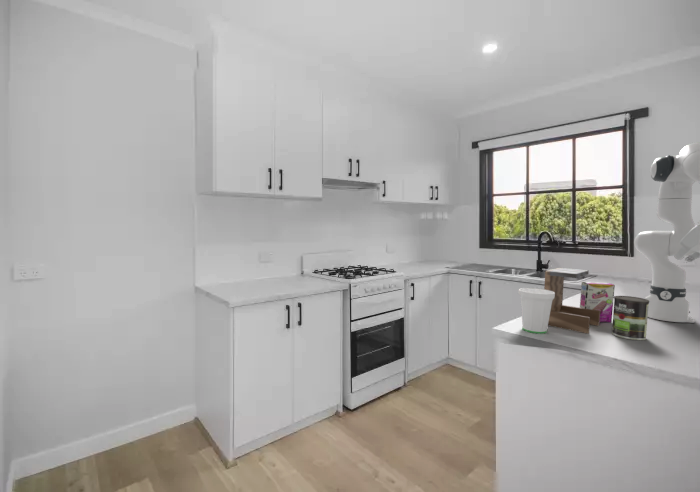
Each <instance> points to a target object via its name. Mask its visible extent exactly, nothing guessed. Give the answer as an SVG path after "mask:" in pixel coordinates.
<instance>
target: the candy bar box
mask: <svg viewBox="0 0 700 492" xmlns="http://www.w3.org/2000/svg"><path fill="white" fill-rule="evenodd" d="M580 286H581V288H580V299H579V300H580V301H579V308H585V309H592V310H598V311H600V321H599V323H613V311H614V296H615V284H613V283H609V282H599V281H598V282H597V281H596V282H595V281H581V285H580Z"/></svg>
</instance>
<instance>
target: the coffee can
mask: <svg viewBox="0 0 700 492" xmlns="http://www.w3.org/2000/svg"><path fill="white" fill-rule="evenodd" d="M648 306H649V300H647V299H645V298H642V297H637V296H630V295H629V296H628V295H614V300H613V311H612V326H611V327H612V328H611V334H612V335H613V336H615V337H618V338H622V339H626V340H632V341H645V340H646V339H647V331H648V330H647V329H648V318H649V317H648Z"/></svg>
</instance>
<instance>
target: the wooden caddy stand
mask: <svg viewBox="0 0 700 492" xmlns="http://www.w3.org/2000/svg"><path fill="white" fill-rule="evenodd" d="M589 273H590V272H589V270H586V269H576V268H565V267H557V268H553V269H548V270H545V272H544V286H543V287H544V290H549V291H553V292H555V298H554V299H553V300H552V305H551V311H550V316H549V322H548V327H549V326H550V327H554V328H559V329H562V330H569V331H573V332H580V333H583V334H584V333H585V334H589V333H590V326H597V327H598V326H600V322H599V321H600V311H598V310H592V309H585V308H580V306H579V307H578V306H573V305H572V306H571V305H564V304H563V300H564V283H565V282H564V281H565V278H570V279H577V278H581V277H584V276H587V275H589Z"/></svg>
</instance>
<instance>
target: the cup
mask: <svg viewBox="0 0 700 492" xmlns="http://www.w3.org/2000/svg"><path fill="white" fill-rule="evenodd" d="M518 295H519V297H520V307H521V320H522V321H521V322H522V330H523V331H524V332H528V333H532V334H546V333H547V331H548V327H549V326H548V322H549V316H550V311H551V305H552V300H553V299H554V298H555V292H553V291H549V290H544V289H543V288H534V287H521V288H519V289H518Z"/></svg>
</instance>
